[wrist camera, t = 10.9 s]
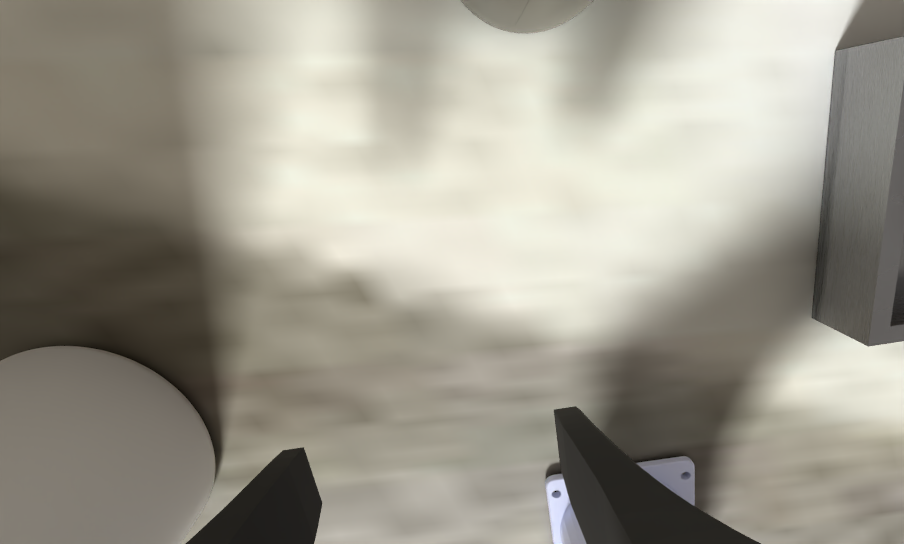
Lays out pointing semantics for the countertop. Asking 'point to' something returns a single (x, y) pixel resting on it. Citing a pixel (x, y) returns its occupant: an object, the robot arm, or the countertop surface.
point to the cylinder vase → (97, 451)
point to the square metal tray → (864, 197)
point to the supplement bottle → (526, 13)
